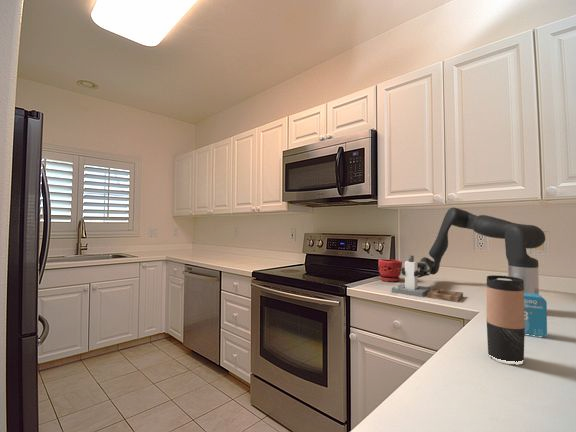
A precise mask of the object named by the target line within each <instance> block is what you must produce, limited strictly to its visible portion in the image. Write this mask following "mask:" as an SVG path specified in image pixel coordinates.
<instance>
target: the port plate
mask: <svg viewBox="0 0 576 432" xmlns="http://www.w3.org/2000/svg"><path fill="white" fill-rule="evenodd" d="M431 290H432V289H431V286H430V287H428V286H422V285H420V286H419V285H417V289H415V290H413V289H406V288H405V283H400V284H398V285H396V286H394V287H391V293H395V294H401V295H406V296H407V295H408V296H413V297H419V298H423V297H425V296H426V295H427V293H428V292H430V291H431Z"/></svg>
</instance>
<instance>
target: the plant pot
mask: <svg viewBox="0 0 576 432" xmlns="http://www.w3.org/2000/svg"><path fill="white" fill-rule="evenodd" d="M377 264H378V273H379V274H380V275H379V276H378V278H379V279H380V280H381V281H384V282H392V283H393V282H394V283H395V282H398V281H400V280H401V278H400V275H401V274H402V267H403V261H402V260H399V259H386V258H384V259H383V258H380V259H378V263H377Z"/></svg>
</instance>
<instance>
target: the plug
mask: <svg viewBox="0 0 576 432" xmlns="http://www.w3.org/2000/svg"><path fill="white" fill-rule="evenodd" d="M417 262H418V261H415V256H414V255H412V254H411V255H410V254H409V255H408V260H406V261H404V268H405V275H404V284H405V288H406V289H413V290H415V289H417V286H418V278H417V276H416V277H415V276H414V272H415V271H417Z"/></svg>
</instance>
